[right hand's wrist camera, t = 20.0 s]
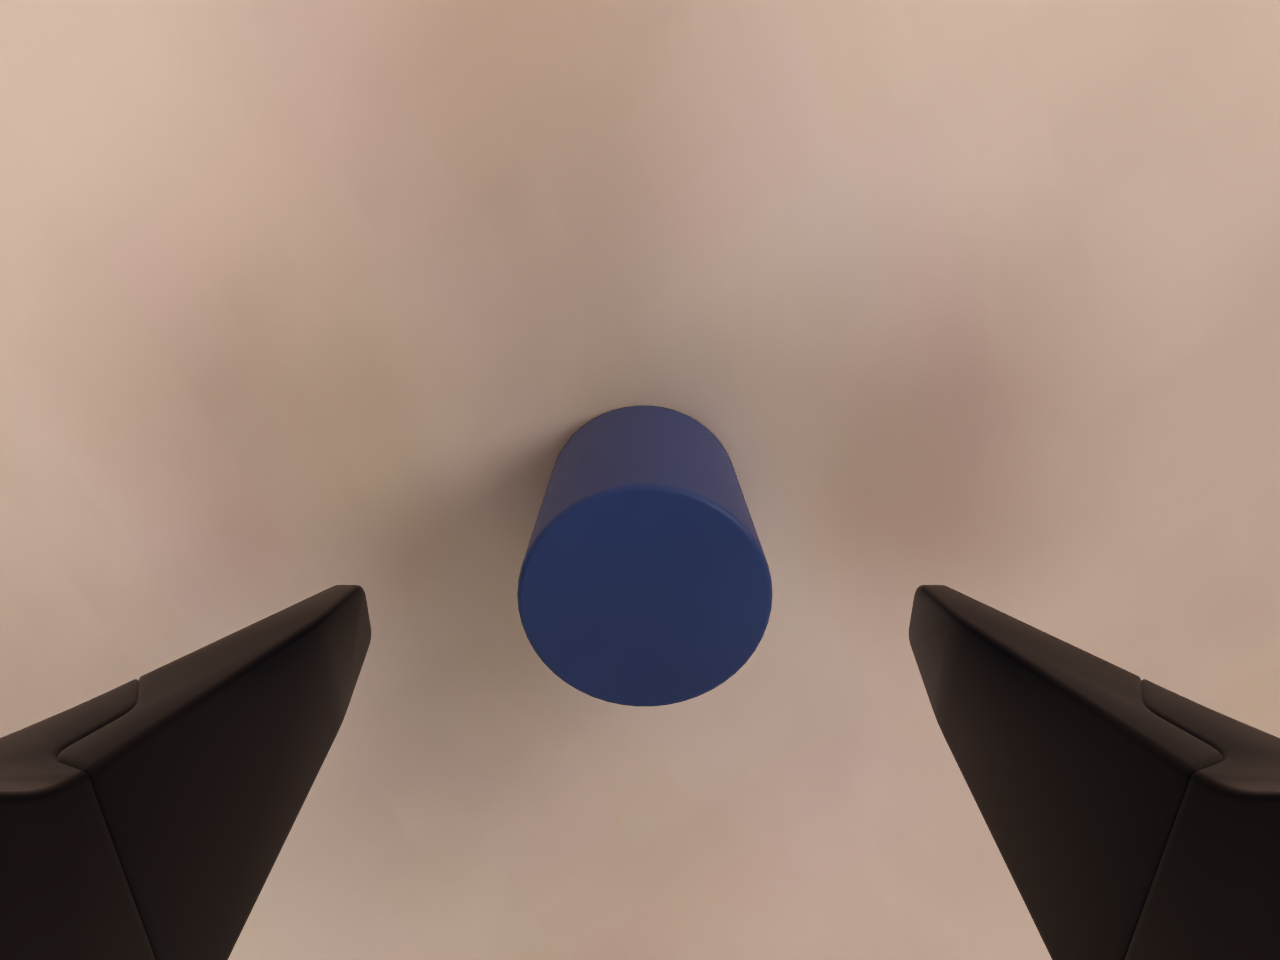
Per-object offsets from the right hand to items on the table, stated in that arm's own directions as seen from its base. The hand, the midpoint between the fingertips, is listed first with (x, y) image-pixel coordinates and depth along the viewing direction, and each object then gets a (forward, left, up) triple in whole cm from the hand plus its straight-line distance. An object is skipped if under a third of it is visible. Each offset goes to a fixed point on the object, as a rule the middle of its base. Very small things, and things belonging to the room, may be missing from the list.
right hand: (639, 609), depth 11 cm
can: (0, 0, -5) cm, 5 cm away
